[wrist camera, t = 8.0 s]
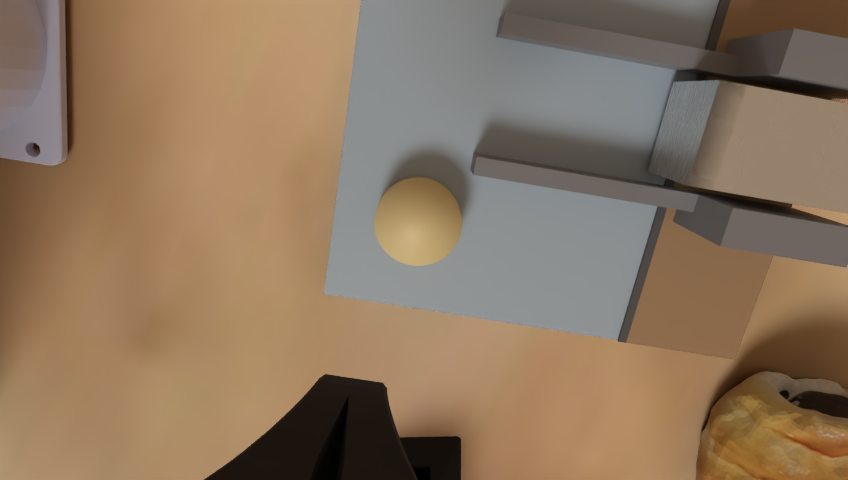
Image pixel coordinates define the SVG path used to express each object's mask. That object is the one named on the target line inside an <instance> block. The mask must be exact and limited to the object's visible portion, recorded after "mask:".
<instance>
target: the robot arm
mask: <svg viewBox="0 0 848 480" xmlns="http://www.w3.org/2000/svg"><path fill="white" fill-rule="evenodd" d="M34 143H36V144H37V145H38V146H39V148H40V154H39V155H38V154H37V153H36V152H35V151H34V148H33V146H34ZM67 154H68V146H67V89H66V32H65V0H0V158H6V159H12V160H18V161H25V162H31V163H37V164H43V165H58V164H61V163H63V162H64V161H65V160H66V158H67ZM204 480H418V479H417V477H416V475H415V472H414V470H413V468H412V466H411V464H410V462H409V460H408V457H407V455H406V453H405V450H404V448H403V445H402V443H401V440H400V437H399V435H398V432H397V430H396V427H395V424H394V420H393V417H392V414H391V410H390V406H389V402H388V396H387V388H386V387H385V385H384V384H383V383H380V382H373V381H367V380H360V379H353V378H347V377H340V376H333V375H327V374H325V375H324V376H322V377H321V378H319V380H318V381H317V382H316V383H315V384H314V386H313V387H312V388H311V389H310V390H309V391H308V392H307V394H306V395H305V396H304V397H303V398H302V399H301V400H300V401H299V402H298V403H297V404H296V405H295V406H294V407H293V408H292V409H291V410H290V411H289V412H288V413H287V414H286V415H285V416H284V417H283V418H282V419H280V420H279V421H278V422H277V423H276V424H275V425H274V426H273V427H272V428H271V429H270V430H269V431H267V432H266V433H265V434H264V435H263V436H261V437H260V438H259V439H258V440H257V441H255V442H254V443H253V444H252V445H251V446H249V447H248V448H247V449H246V450H245V451H243V452H242V453H241V454H239V455H238V456H237V457H235V458H234V459H233V460H231V461H230V462H229V463H227V464H226V465H225V466H223V467H222V468H220V469H219V470H217V471H216V472H215V473H213V474H212V475H210V476H209V477H207V478H206V479H204Z"/></svg>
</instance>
